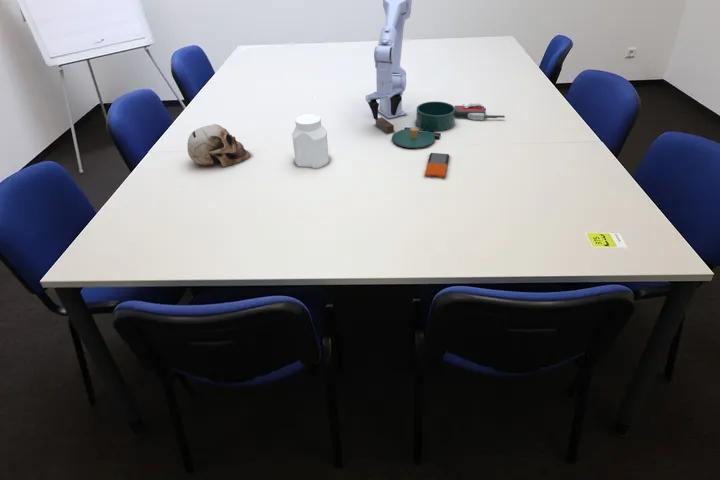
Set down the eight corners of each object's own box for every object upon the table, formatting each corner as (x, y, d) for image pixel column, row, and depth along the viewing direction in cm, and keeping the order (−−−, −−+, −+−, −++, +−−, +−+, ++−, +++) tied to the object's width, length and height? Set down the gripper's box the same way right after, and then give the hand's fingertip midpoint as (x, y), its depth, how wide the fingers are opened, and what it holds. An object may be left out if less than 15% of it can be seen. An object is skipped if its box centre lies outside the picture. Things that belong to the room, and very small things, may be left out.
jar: (291, 165, 158) (285, 123, 149) (301, 153, 166) (296, 112, 157) (323, 169, 156) (320, 126, 147) (332, 155, 163) (329, 114, 154)
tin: (409, 121, 185) (409, 106, 181) (439, 113, 190) (440, 98, 186) (429, 134, 175) (430, 119, 171) (461, 126, 180) (463, 110, 176)
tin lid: (384, 137, 174) (384, 126, 171) (419, 127, 179) (420, 117, 177) (406, 153, 163) (406, 142, 160) (443, 143, 168) (444, 132, 166)
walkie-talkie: (451, 120, 184) (504, 121, 182) (452, 109, 181) (506, 110, 179) (451, 111, 191) (501, 112, 189) (452, 101, 188) (503, 101, 186)
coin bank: (254, 154, 165) (243, 119, 157) (218, 180, 156) (204, 144, 147) (224, 145, 173) (212, 112, 165) (188, 169, 163) (173, 135, 155)
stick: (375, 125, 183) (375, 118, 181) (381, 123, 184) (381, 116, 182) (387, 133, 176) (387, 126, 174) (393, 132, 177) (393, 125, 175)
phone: (424, 173, 149) (430, 152, 160) (424, 177, 150) (429, 155, 161) (445, 175, 148) (449, 153, 159) (445, 178, 148) (449, 156, 160)
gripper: (371, 87, 163) (372, 124, 172) (407, 80, 168) (406, 116, 177) (362, 81, 168) (363, 118, 177) (397, 74, 173) (396, 110, 182)
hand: (384, 116), depth 177 cm, fingers open, 7 cm apart
